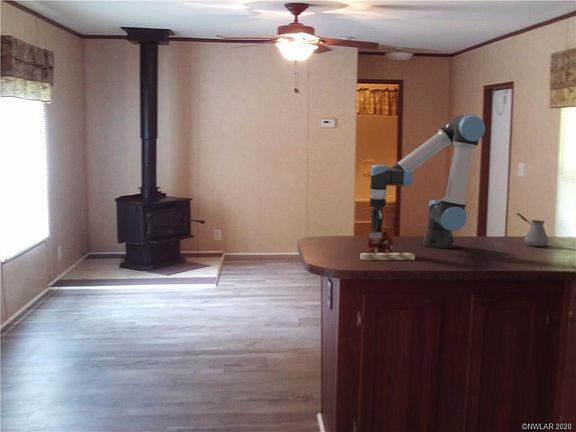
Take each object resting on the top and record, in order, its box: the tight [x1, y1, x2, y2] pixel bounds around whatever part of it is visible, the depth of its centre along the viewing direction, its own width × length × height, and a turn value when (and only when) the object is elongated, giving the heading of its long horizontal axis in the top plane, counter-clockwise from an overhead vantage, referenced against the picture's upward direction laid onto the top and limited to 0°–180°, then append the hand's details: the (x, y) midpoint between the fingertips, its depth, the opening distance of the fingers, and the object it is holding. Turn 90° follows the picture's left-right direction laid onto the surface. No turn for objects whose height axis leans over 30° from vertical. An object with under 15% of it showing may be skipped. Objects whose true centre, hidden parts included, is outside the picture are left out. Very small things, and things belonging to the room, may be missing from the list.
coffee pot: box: [514, 212, 549, 247], centre depth 308 cm, size 21×12×15 cm, turn 21°
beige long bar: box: [359, 252, 416, 261], centre depth 263 cm, size 24×3×3 cm, turn 98°
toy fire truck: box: [366, 231, 394, 253], centre depth 274 cm, size 7×12×10 cm, turn 96°
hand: (375, 247), depth 281 cm, fingers closed
